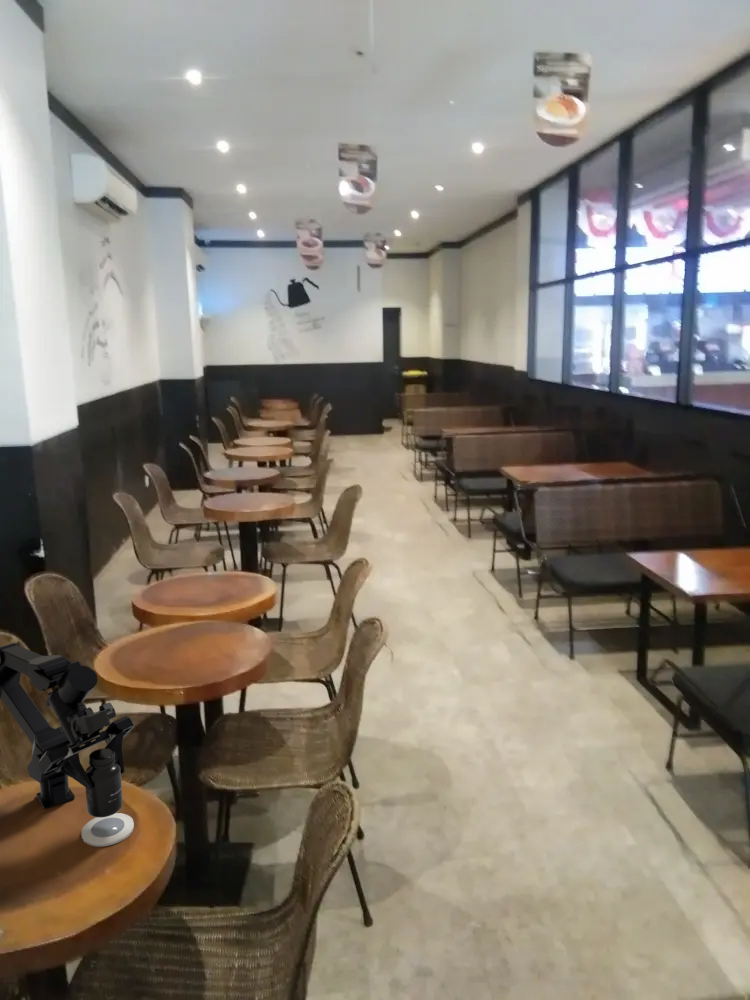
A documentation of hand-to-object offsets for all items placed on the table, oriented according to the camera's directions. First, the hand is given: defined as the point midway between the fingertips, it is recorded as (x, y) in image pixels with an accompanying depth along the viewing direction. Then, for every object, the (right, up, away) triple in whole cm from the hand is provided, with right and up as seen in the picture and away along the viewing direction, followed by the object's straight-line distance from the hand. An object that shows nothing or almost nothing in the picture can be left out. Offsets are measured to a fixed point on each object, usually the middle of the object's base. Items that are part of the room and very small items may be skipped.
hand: (107, 781), depth 154 cm
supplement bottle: (-1, -7, +2) cm, 7 cm away
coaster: (-1, -11, +3) cm, 12 cm away
